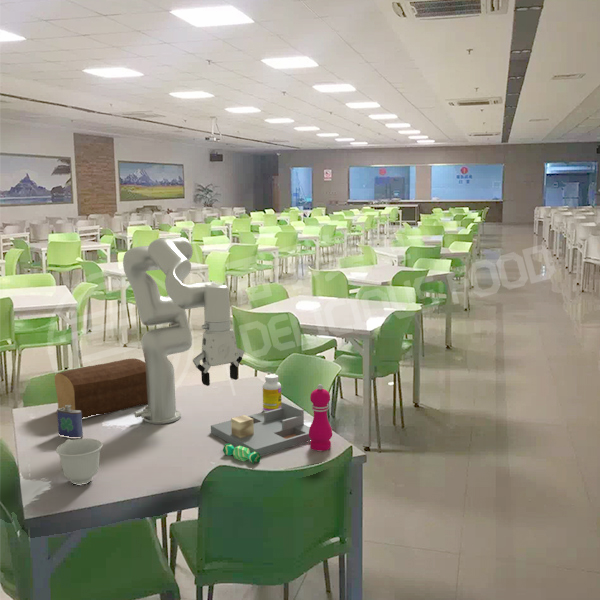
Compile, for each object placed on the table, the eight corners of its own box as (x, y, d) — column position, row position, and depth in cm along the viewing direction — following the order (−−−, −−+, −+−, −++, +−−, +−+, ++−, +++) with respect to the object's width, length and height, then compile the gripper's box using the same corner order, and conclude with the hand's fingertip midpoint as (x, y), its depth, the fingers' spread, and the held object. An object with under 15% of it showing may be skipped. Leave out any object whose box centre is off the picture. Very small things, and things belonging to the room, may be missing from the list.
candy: (221, 453, 199) (226, 440, 200) (228, 456, 202) (233, 443, 203) (250, 464, 192) (255, 450, 193) (257, 467, 194) (262, 453, 195)
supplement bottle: (281, 414, 235) (280, 378, 233) (262, 414, 236) (261, 378, 233) (282, 407, 242) (281, 373, 240) (263, 407, 242) (262, 373, 240)
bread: (55, 410, 243) (52, 367, 240) (131, 393, 262) (129, 353, 259) (76, 423, 229) (73, 377, 227) (154, 404, 249) (152, 361, 246)
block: (240, 438, 206) (239, 422, 206) (231, 433, 210) (231, 418, 210) (253, 434, 209) (253, 419, 209) (245, 429, 213) (244, 414, 213)
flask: (84, 436, 216) (82, 405, 214) (78, 440, 213) (76, 407, 211) (62, 433, 219) (59, 402, 218) (55, 436, 217) (53, 404, 215)
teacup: (89, 465, 194) (87, 432, 192) (112, 481, 183) (110, 446, 181) (47, 477, 186) (45, 443, 184) (69, 495, 175) (66, 459, 173)
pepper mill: (335, 444, 207) (335, 381, 204) (328, 453, 201) (328, 388, 197) (313, 441, 210) (312, 379, 206) (305, 450, 203) (304, 386, 200)
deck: (255, 457, 198) (254, 433, 197) (210, 432, 218) (210, 410, 217) (318, 438, 212) (318, 415, 211) (271, 416, 233) (270, 396, 231)
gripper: (198, 332, 192) (201, 390, 194) (249, 324, 202) (250, 379, 205) (186, 328, 198) (188, 384, 200) (235, 320, 208) (237, 374, 211)
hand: (220, 381), depth 203 cm, fingers open, 9 cm apart
